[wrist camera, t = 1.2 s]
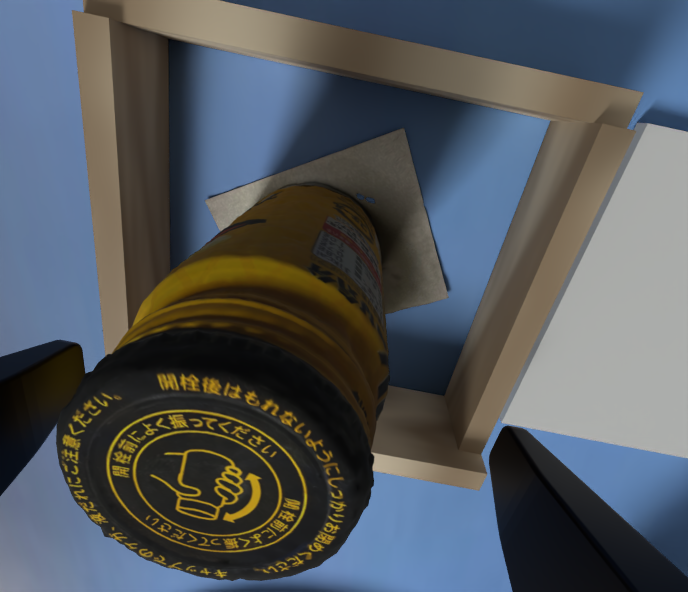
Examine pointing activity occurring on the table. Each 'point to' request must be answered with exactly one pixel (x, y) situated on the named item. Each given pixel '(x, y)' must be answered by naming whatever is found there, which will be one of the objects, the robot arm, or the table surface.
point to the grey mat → (621, 314)
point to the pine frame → (378, 67)
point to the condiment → (258, 374)
